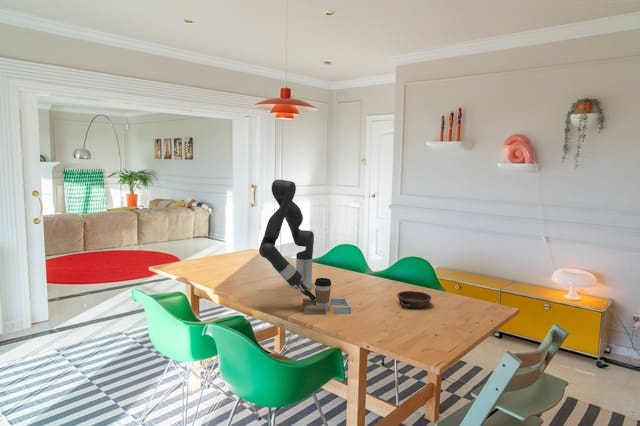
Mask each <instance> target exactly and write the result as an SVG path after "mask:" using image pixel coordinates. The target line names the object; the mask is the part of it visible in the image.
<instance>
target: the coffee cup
mask: <svg viewBox="0 0 640 426" xmlns="http://www.w3.org/2000/svg"><path fill="white" fill-rule="evenodd" d="M314 286H315V288H314V292H315V294H314V295H315V297H316V305H315V307H325V309H326V311H327V310H329V307H330V305H329V304H330V298H331V290H332V289H331V287H332V282H331V279H330V278H327V277H317V278H316V279H315V281H314Z"/></svg>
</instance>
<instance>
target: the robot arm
mask: <svg viewBox="0 0 640 426" xmlns="http://www.w3.org/2000/svg"><path fill="white" fill-rule="evenodd" d="M296 187H297V186H296V183H295V182H294V181H291V180H284V179H275V180H274V181H273V182H272V184H271V193H272V196H273V198H274V199H275V201H276V203H277V205H279V206H278V209H276V211H275V212H274V213H273V214H272V215H271V216H270V218H269V220H268V221H267V223H266V228H265V231H264V236H263V238H262V239H261V243H260V245H259V248H258V249H259V251H258V253H259V255H260V256H261V257H262V258H264V259H267V262H270V264H271V266H272V267H273V268H274V269H275V270H276V272H277V273H279V275H280V276H281V278H282V279H283V280H285V282H286V283H288V285H289V286H291V287H294V286H295V288H296V289H298V291H300V293H301V294H304V296H305V297H308V298H310V299H311V300H312V301H314V300H315V299H316V295H315V294H314V293H312V291H311V289H312V288H313V287H312V281H313V256H314V243H315V234H314V232H313V231H312V230H306V229H305V230H304V229H303V230H302V229H300V226H301V225H302V223H303V220H304V216H303V213H302V210H301V208H300V207H299V206H298V205H297V203H296V202H294V201H293V200H294V198H295V195H296V192H297V191H296V190H297V188H296ZM284 220H285V221H286V222H287V226H288V227H289V230H290V233H291V237H292V239H293V242H294V245H295V246H298V247H305V248H304V249H305V250H301V251H299V252H296V254H295V256H296V258H295V266H294V265H292V264H291V263H290V262H289V261H288V260H287V259H286V258H285V257H284V256H283V255H282V254H281V252H280V251H279V249H277V247H276V242H277V240H278V238H279V237H280V232H281V230H282V227H283V223H284Z"/></svg>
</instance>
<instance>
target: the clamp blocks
mask: <svg viewBox="0 0 640 426" xmlns="http://www.w3.org/2000/svg"><path fill="white" fill-rule="evenodd" d="M302 305H303V306H304V309H303V310H304V311H303V312H304V315H326V314H327V313H326V312H327V310H326V309H325V307H316V299H315V300H314V301H312V300H311V299H310V298H309V297H303V298H302Z"/></svg>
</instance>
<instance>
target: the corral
mask: <svg viewBox="0 0 640 426" xmlns="http://www.w3.org/2000/svg"><path fill="white" fill-rule="evenodd" d="M329 304H330V305H344V306H333V308H332V309H333V310H332V314H351V313H352V306H351V304H350V302H349V299H348V298H347V297H343V298H342V297H330V298H329Z"/></svg>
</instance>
